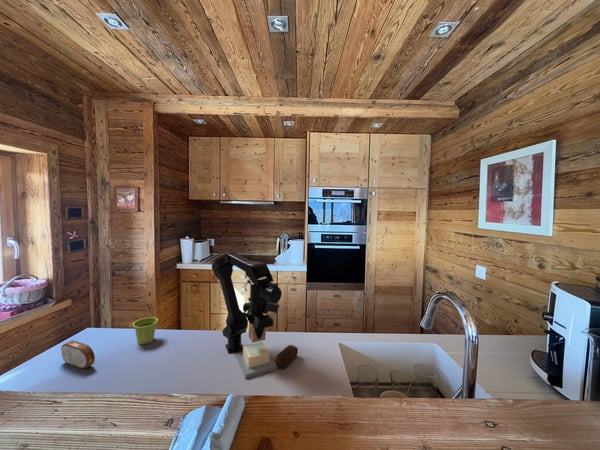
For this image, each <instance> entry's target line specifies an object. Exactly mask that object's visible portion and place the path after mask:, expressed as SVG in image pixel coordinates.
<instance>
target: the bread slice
mask: <svg viewBox="0 0 600 450" xmlns="http://www.w3.org/2000/svg"><path fill="white" fill-rule="evenodd" d="M61 357H62V359H63V361H64V362H65V363H66V364H67V365H70V366H73V367H75V368H78V369H81V370H85V369H87V368H88V367H90V366H92V365H93V364H94V363H95V362H96V361H95V360H96V356H95V352H94V350H93V348H92V347H91V346H90V345H88V344H86V343H85V342H84V343H83V342H80V341H78V340H73V339H71V340H69V341H68V342H65V343H64V344H63V345H62V346H61Z"/></svg>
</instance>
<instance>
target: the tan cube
mask: <svg viewBox="0 0 600 450" xmlns="http://www.w3.org/2000/svg"><path fill="white" fill-rule="evenodd" d="M266 328H267V327H266ZM266 328H264V330H263V333H262V336H261V339H258V338H257V335H256V333H255V330H254V327H253V324H250V323H248V337H249V339H250V342H251V343H254V344H255V343H257V342H258V343H259V342H261V341H265V340H266V330H267V329H266Z"/></svg>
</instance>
